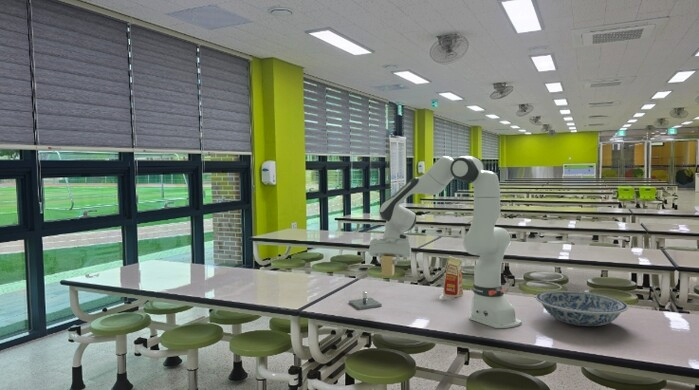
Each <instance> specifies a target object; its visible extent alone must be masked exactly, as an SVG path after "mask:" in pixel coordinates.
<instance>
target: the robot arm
mask: <svg viewBox="0 0 699 390" xmlns="http://www.w3.org/2000/svg"><path fill="white" fill-rule="evenodd" d="M453 179H456V180H458V181H460V182H464V183H467V184H471V185H472V187H473V214H472V215H473V216H472V220H471V224H470V227H469V230H468V231H467V233H466V234H465V235H464V237H463V240H462V241H463V242H462V245H463V248H464V249H465V252H466V253H468V254H469V255H471V256H472V255H473V256H479V257H478V260H477V262H476V263H475V264H474V267H473V268H474V269H473V271H474V272H473V273H474V275H473V276H474V277H473V278H474V283H473V285H472V286H473V287H472V290H473V297H472V300H471V309H470V315H469V317H468V319H469V320H471V321H474V322H477V323H478V324H479V323H480V324H483V325H486V326H488V327H492V328H495V329H507V328H508V329H509V328H513V327H517V326H520V325H522V323H523V322H522V320H520V319H519V318H517V317H516V309H515V307H514V306H513V304H511V303H510V302H509V300H508V299H507V298H506V297H505V295H504V293H505V292H506V291H505V290H506V289H503V286H502V284H501V281H502V280H501V277H502V276H501V275H502V274H501V272H502V264H503V260H504V257H505V253H506V251H507V249H508V247H509V246H510V243H511V240H512V239H511V235H510V233H509V232H508V230H506V229H505V228H504V227H499V226H495V225H496V222H497V220H498V219H499V218H500V216H501V188H500V187H501V186H500V180H499V176H498V175H497V173H495V172H494V171H490V170H486V166H485V163H484V161H483V160H481V158H479V157H476V156H472V155H462V156H458V157H456V158H455V159H454V158H453V157H452V156H451V157H450V156H448V155H442V156H440V158H439V159H437V160H436V161H435V162H434V163H433V164H432V165H431V166H430V167H429V169H428V170H427V171H426V172H425V173H424V174H422V175H420V176H417V177H412V178H411V179H410V180H409V181H408V182H406V183H405V184H404V185H402V186H401V188H399V190H398V191H396V193H394V194H393V195H392V196H391V197H390V198H388V199H387V200H385V201H384V202H383V203H382V204H381V205H380V207H379V216H380V218H381V219H382V220H383V221H386V222H385V226H384V227H385V228H384V232H383V235H382V238H374V239H372V240H370V243H369V248H368V255H369V256H370V257H377V258H378V263H379V264H380V265H382V259H381V256H382V255H383V254H394V260H393V265H394V266H395V265H396V266H397V263H398V261H399V260H400V258H401V259H404V258H406V259H409V258H411V256H412V247H411V246H412V245H411V241H410V237H409V235H406V234H404V233H406V232H408V231H411V230H412V229H414V227H415V226H416V224H417V215H416V212H414V211H413V210H410V209H409V208H407V207H405V206H403V205H401V204H402V203H403V202H404V201H405V200H406V199H407V198H408V197H410V196H412V195H413V194H414V195H415V194H421V195H426V196H436V195H438V194H440V193H442V192H443V191H444V190H445V189H446V188H447V186H448V184H450V183H451V181H452V180H453Z"/></svg>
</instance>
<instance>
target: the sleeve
mask: <svg viewBox="0 0 699 390" xmlns="http://www.w3.org/2000/svg"><path fill="white" fill-rule="evenodd" d="M381 259H382V264H381V276H386V277H387V276H389V277H392V276H394V274H395V265H393V260H395V257H394V254H383V255H382V256H381Z"/></svg>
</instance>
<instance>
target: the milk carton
mask: <svg viewBox="0 0 699 390" xmlns="http://www.w3.org/2000/svg"><path fill="white" fill-rule="evenodd" d="M463 260H464V259H463V258H456V257H454V256H451V255H448V261H447V266H446V269H445V275H444V280H443V281H444V282H443V288H442V289H443V293H442V294H443V295H442V297H443V296H445V297H451V298H452V297H454V298H459V297H463V296H464V291H463V271H462V262H463Z"/></svg>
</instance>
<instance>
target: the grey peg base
mask: <svg viewBox="0 0 699 390" xmlns="http://www.w3.org/2000/svg"><path fill="white" fill-rule="evenodd" d="M348 303H349V304H350V305H351V306H352V307H354V308H355V309H357V310H358V311H359V310H366V309H373V308H378V307H380V308H381V307H382V303H381V302H379V301H378V300H376V299H375V298H373V297H368V291H362V298H359V299H350V300H348Z"/></svg>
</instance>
